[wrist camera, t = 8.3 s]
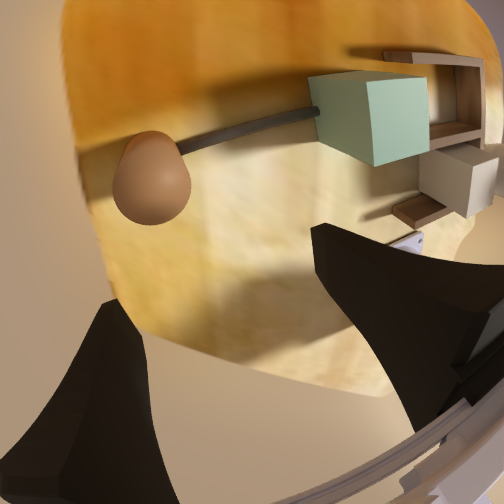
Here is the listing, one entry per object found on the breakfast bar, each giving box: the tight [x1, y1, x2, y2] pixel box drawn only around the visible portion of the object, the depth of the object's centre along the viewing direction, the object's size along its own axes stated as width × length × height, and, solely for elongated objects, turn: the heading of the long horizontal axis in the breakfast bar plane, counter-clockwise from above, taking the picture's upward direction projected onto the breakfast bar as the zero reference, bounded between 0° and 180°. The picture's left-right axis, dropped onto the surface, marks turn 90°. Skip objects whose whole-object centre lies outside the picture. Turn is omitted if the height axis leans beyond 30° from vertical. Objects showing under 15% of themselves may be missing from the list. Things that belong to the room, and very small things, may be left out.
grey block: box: [418, 142, 499, 219], centre depth 21 cm, size 4×4×6 cm
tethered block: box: [112, 70, 429, 225], centre depth 15 cm, size 4×17×6 cm, turn 103°
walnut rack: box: [383, 51, 486, 230], centre depth 20 cm, size 14×10×3 cm
